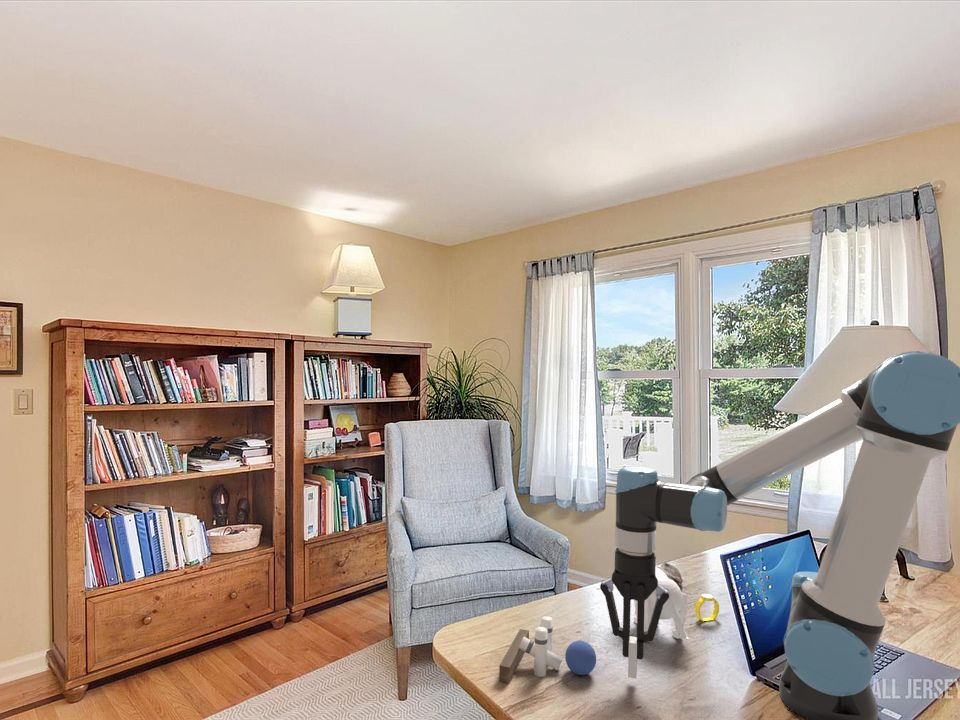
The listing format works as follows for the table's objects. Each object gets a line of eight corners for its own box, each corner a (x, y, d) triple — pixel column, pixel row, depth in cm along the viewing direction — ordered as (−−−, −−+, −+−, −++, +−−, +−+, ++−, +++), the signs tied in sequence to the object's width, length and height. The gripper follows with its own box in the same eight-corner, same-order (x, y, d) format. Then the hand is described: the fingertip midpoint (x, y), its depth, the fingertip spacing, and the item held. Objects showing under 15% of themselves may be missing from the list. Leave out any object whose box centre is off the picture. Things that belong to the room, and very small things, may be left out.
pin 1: (553, 661, 115) (555, 619, 115) (545, 665, 114) (546, 622, 114) (545, 656, 117) (547, 615, 117) (536, 659, 116) (538, 617, 116)
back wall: (528, 644, 122) (529, 630, 122) (509, 683, 107) (509, 667, 107) (519, 642, 123) (520, 628, 123) (499, 681, 107) (499, 665, 108)
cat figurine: (710, 657, 118) (712, 577, 119) (666, 663, 116) (668, 581, 116) (646, 607, 143) (647, 541, 143) (608, 611, 140) (609, 543, 140)
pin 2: (549, 674, 110) (550, 630, 110) (539, 678, 109) (540, 634, 109) (540, 668, 112) (541, 625, 112) (530, 672, 111) (532, 628, 111)
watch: (712, 617, 138) (714, 593, 139) (720, 622, 136) (722, 597, 136) (692, 618, 137) (694, 593, 137) (699, 623, 134) (701, 598, 134)
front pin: (563, 656, 112) (524, 633, 114) (559, 667, 110) (519, 644, 113) (560, 661, 114) (522, 639, 116) (556, 673, 112) (517, 650, 114)
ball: (556, 658, 113) (579, 682, 112) (562, 657, 108) (586, 682, 106) (575, 634, 116) (598, 658, 114) (581, 632, 111) (605, 656, 109)
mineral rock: (671, 598, 150) (672, 581, 150) (642, 589, 155) (643, 573, 155) (691, 582, 161) (691, 567, 161) (663, 575, 166) (664, 560, 166)
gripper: (671, 547, 109) (668, 670, 109) (602, 539, 114) (599, 658, 113) (671, 560, 102) (668, 691, 102) (598, 551, 106) (595, 677, 106)
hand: (632, 674), depth 108 cm, fingers closed
